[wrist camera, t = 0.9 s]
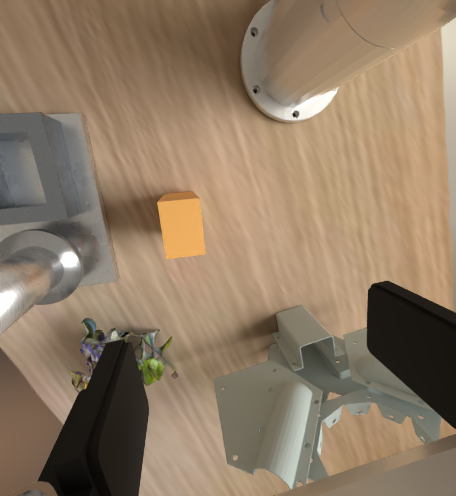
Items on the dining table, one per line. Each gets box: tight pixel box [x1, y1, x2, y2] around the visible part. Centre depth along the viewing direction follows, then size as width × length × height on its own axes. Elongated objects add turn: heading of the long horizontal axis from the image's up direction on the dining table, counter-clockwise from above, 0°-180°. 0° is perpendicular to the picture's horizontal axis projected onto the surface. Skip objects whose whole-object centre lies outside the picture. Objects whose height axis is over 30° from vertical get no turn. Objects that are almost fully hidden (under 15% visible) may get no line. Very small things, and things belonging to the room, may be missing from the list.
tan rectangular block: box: [157, 191, 205, 259], centre depth 27 cm, size 5×4×11 cm
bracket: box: [213, 305, 442, 490], centre depth 31 cm, size 28×7×20 cm, turn 103°
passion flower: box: [71, 318, 178, 393], centre depth 32 cm, size 11×11×12 cm
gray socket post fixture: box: [0, 112, 119, 335], centre depth 22 cm, size 19×12×16 cm, turn 4°
